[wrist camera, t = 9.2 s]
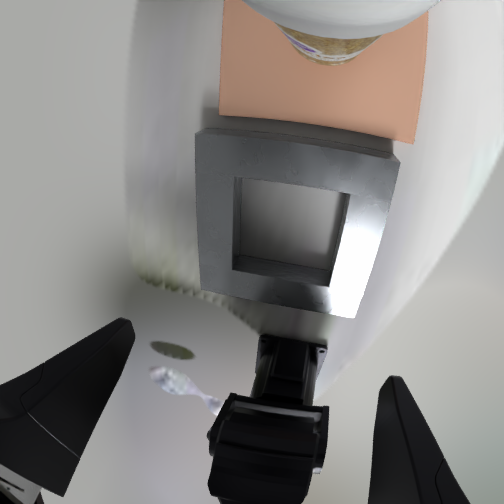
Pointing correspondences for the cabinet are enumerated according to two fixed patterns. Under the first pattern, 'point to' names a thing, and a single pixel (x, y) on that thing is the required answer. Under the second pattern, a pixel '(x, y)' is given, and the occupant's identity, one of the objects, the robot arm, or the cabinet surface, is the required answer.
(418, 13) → the sprinkles bottle
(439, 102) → the cabinet surface
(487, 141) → the cabinet surface
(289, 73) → the terracotta tile
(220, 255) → the collar stand
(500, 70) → the cabinet surface
